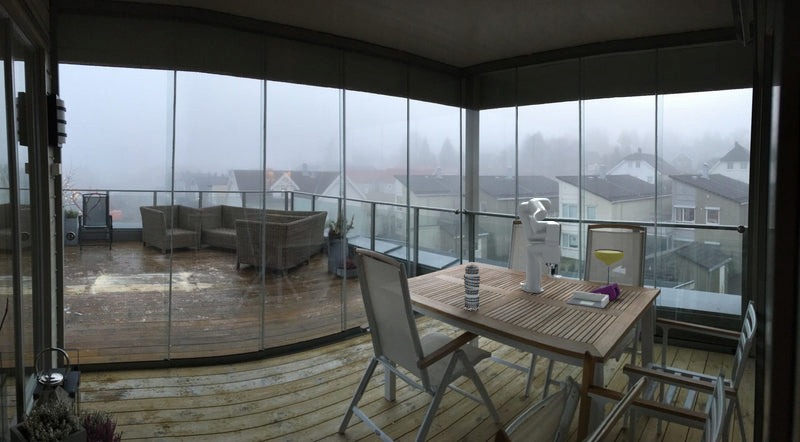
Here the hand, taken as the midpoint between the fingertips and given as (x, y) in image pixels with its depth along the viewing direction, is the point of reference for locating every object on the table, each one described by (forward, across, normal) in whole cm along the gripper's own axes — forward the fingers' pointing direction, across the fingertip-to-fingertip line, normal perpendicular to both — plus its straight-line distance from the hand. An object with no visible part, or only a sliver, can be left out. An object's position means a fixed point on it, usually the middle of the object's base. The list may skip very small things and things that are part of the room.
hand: (551, 274), depth 272 cm
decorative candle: (+17, -32, -38) cm, 53 cm away
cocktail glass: (+17, +17, +59) cm, 63 cm away
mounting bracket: (+18, +20, +31) cm, 41 cm away
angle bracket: (+1, +2, 0) cm, 3 cm away
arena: (+17, +18, +12) cm, 27 cm away
